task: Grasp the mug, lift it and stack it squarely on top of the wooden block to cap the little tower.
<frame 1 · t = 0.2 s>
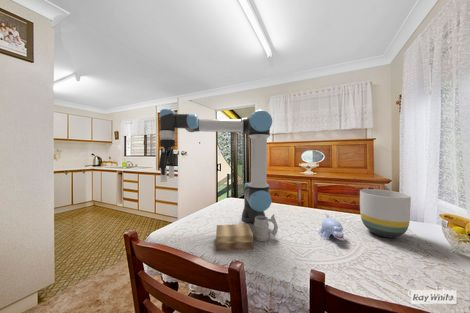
hand: (167, 179, 92), 28 cm above the table, fingers open, 13 cm apart
wooden block: (233, 242, 81), on the table
light blue rounded figure: (332, 238, 85), on the table
mug: (265, 238, 85), on the table
planter: (382, 234, 89), on the table
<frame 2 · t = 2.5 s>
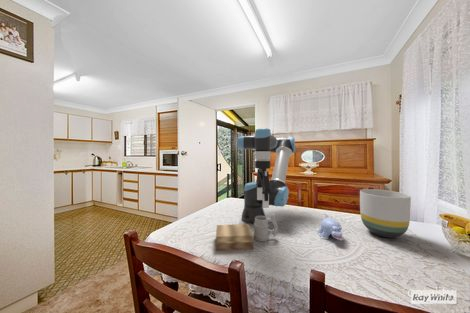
hand: (262, 203, 85), 17 cm above the table, fingers open, 13 cm apart
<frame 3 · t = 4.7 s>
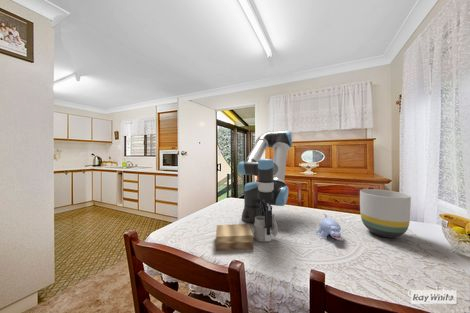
hand: (265, 236, 85), 1 cm above the table, fingers closed on mug, 7 cm apart
mug: (265, 238, 85), on the table, touching gripper
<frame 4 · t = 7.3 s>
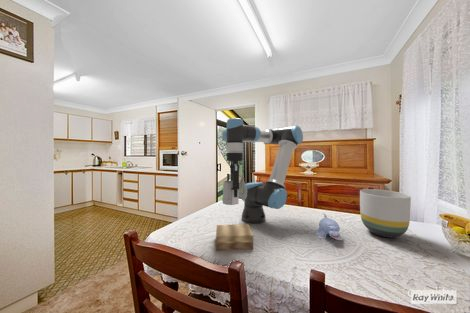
hand: (234, 201, 80), 19 cm above the table, fingers closed on mug, 7 cm apart
mug: (234, 203, 80), point 18 cm above the table, touching gripper
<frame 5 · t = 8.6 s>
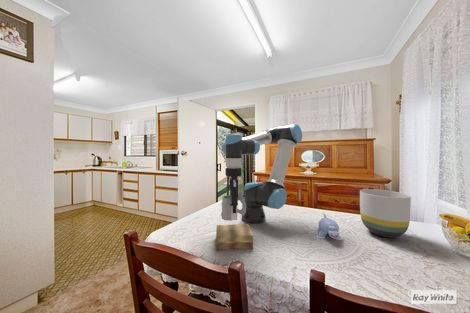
hand: (233, 216, 80), 12 cm above the table, fingers closed on mug, 7 cm apart
mug: (233, 218, 80), point 11 cm above the table, touching gripper
when the fingers open (8 cm above the table, at t = 9.8 s): mug drops 1 cm, resting on wooden block.
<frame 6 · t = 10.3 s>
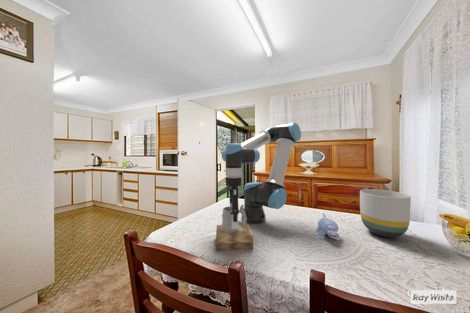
hand: (233, 222, 80), 9 cm above the table, fingers open, 13 cm apart
mug: (233, 230, 80), point 6 cm above the table, touching wooden block
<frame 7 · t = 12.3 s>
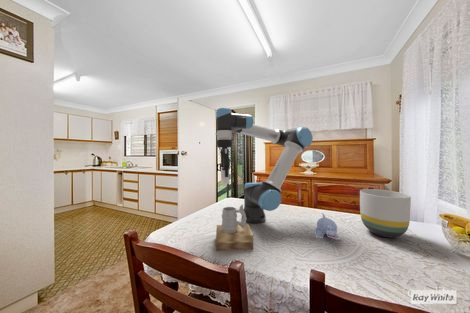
hand: (225, 181, 87), 27 cm above the table, fingers open, 13 cm apart
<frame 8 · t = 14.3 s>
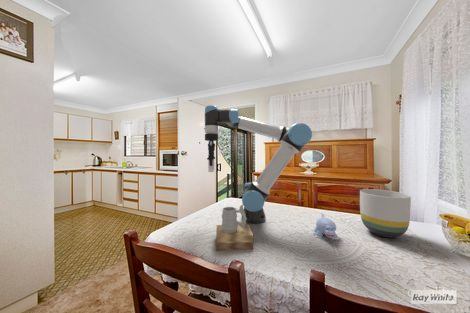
hand: (211, 170, 99), 32 cm above the table, fingers open, 13 cm apart
at the end: mug inside the target area on the wooden block (0.4 cm from its centre), point 5.8 cm above the wooden block's base; mug tilted 0°; the gripper is holding nothing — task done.
